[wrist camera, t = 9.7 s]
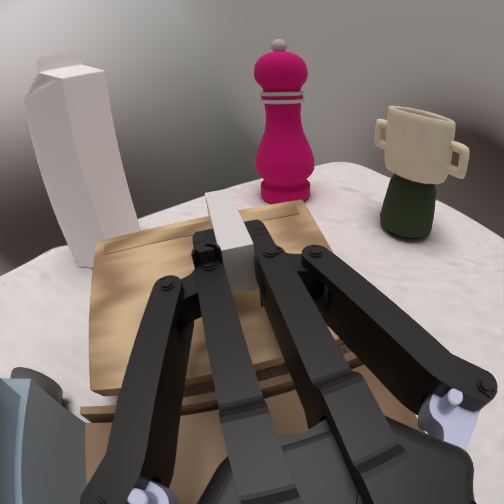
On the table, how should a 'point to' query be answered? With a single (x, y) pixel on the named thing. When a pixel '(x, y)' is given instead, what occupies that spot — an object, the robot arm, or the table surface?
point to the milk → (79, 154)
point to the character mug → (416, 166)
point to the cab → (39, 442)
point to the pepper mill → (283, 127)
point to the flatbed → (210, 432)
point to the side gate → (181, 265)
